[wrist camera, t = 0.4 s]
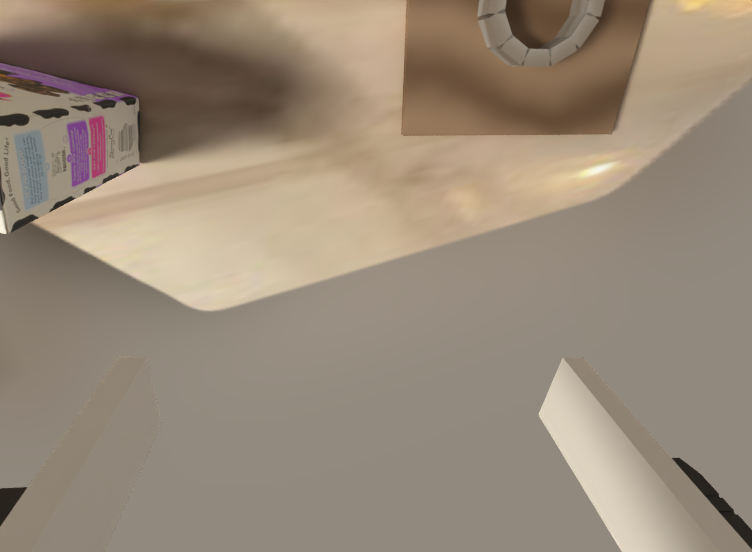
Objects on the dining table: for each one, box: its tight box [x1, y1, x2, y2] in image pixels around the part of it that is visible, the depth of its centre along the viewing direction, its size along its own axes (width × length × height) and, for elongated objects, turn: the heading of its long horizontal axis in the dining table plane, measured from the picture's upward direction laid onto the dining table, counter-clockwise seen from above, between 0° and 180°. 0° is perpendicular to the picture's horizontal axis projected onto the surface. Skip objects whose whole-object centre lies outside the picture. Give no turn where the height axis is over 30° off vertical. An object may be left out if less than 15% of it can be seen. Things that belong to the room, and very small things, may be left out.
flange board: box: [401, 0, 650, 136], centre depth 30 cm, size 20×20×4 cm
